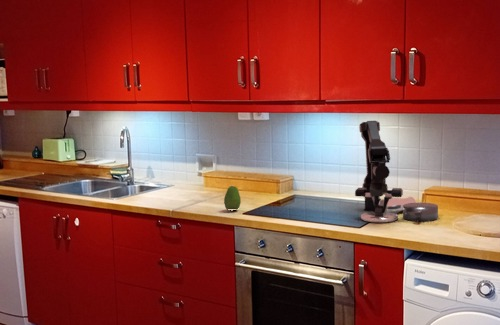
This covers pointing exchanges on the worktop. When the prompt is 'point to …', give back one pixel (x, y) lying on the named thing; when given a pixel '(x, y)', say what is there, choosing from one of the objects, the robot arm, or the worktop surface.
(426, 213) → the pot
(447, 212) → the worktop surface
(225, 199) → the avocado
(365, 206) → the robot arm
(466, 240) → the worktop surface
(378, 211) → the lid
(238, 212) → the worktop surface
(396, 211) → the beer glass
